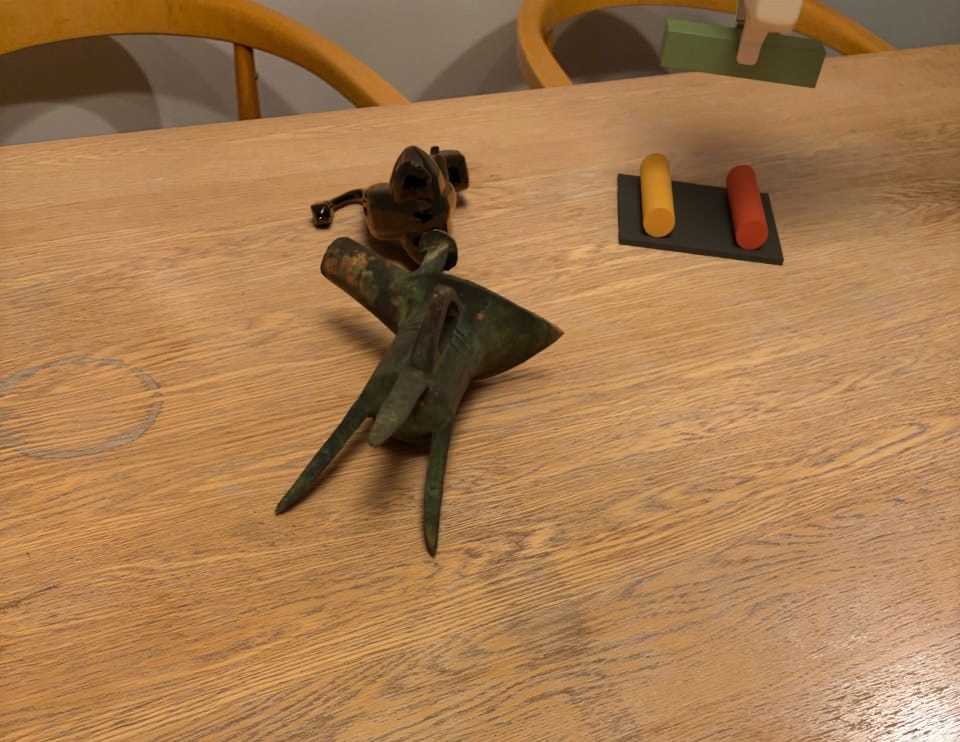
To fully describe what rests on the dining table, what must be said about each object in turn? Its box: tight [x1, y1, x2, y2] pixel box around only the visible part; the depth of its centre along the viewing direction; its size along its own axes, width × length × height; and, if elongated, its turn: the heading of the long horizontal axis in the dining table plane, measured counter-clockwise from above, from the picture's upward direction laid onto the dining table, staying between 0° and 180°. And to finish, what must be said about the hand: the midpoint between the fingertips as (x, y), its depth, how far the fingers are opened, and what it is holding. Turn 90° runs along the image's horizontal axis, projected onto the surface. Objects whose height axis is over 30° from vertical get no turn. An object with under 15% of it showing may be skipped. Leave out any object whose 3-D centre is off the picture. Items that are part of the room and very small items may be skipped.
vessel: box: [273, 229, 565, 557], centre depth 73 cm, size 19×12×25 cm
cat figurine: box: [309, 144, 471, 267], centre depth 95 cm, size 10×14×18 cm
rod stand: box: [616, 152, 785, 266], centre depth 102 cm, size 16×14×4 cm
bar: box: [658, 18, 827, 89], centre depth 91 cm, size 14×3×3 cm, turn 85°
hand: (742, 52), depth 91 cm, fingers closed on bar, 3 cm apart
